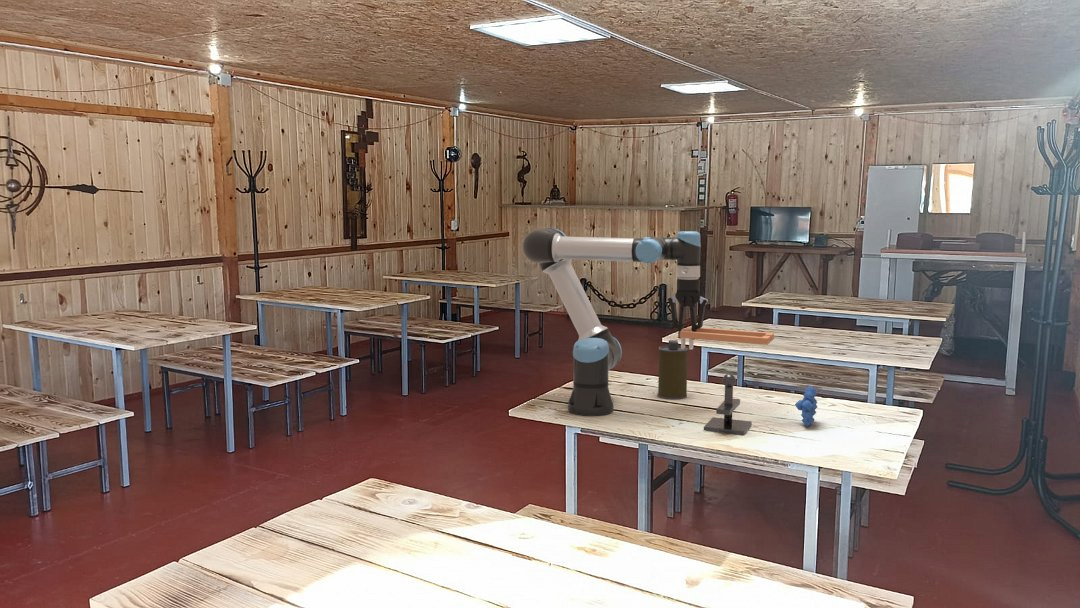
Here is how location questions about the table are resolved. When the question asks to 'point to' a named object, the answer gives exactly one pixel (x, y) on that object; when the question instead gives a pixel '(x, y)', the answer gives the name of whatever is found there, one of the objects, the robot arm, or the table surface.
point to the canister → (672, 371)
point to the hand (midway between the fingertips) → (687, 348)
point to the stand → (728, 412)
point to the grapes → (808, 406)
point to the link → (728, 335)
